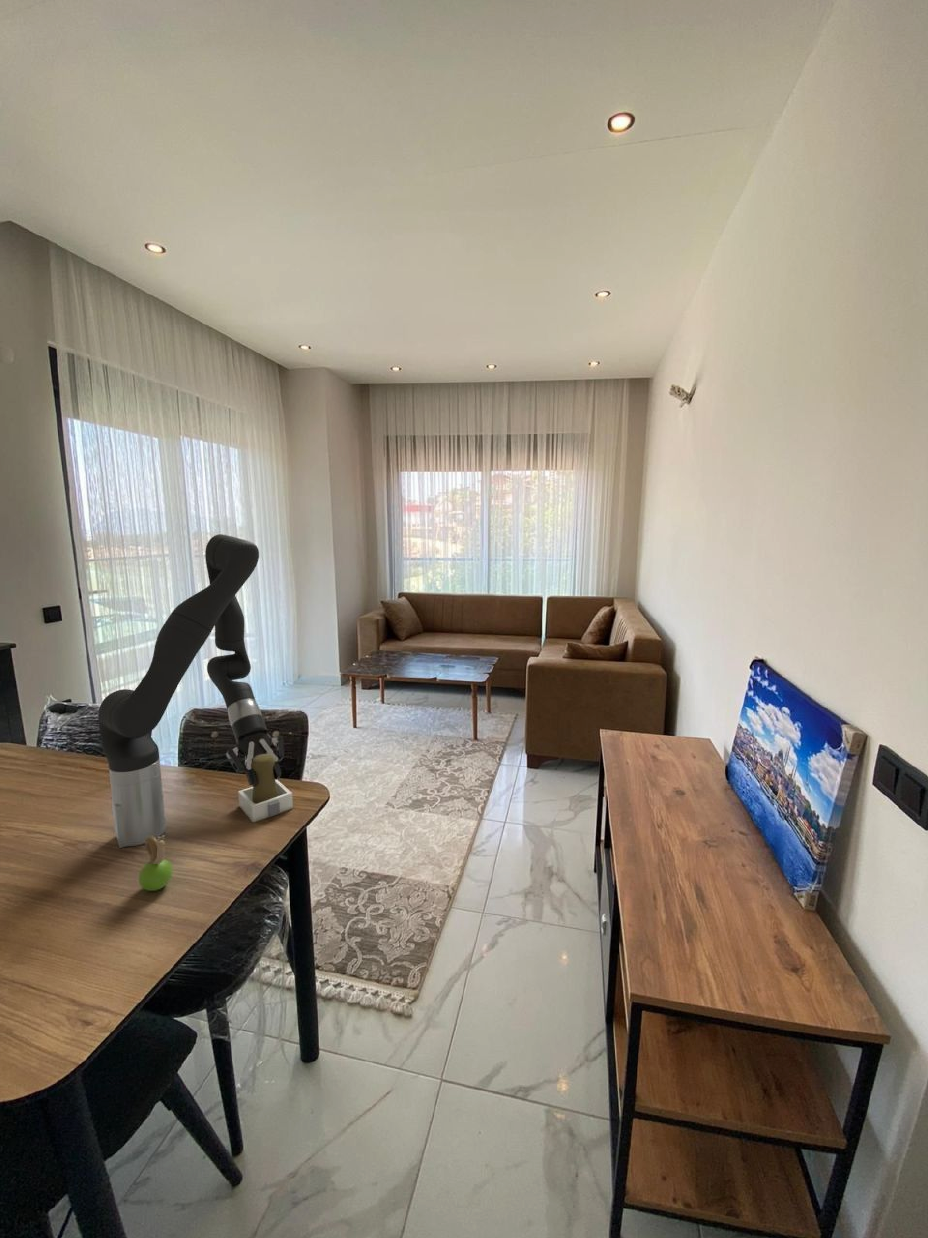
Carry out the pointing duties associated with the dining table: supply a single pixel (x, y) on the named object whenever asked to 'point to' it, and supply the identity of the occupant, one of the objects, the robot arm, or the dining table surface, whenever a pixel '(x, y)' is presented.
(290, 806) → the box
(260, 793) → the cork
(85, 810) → the dining table surface
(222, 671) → the robot arm
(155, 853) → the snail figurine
